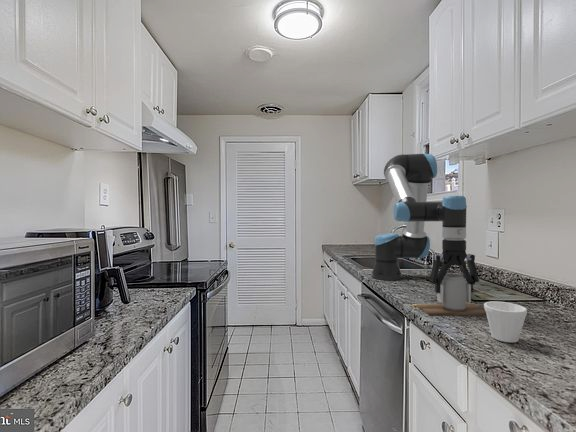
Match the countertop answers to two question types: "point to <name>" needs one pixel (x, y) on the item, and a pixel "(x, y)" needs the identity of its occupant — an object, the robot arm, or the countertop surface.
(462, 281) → the can
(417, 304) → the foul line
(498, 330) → the cup
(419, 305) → the board
